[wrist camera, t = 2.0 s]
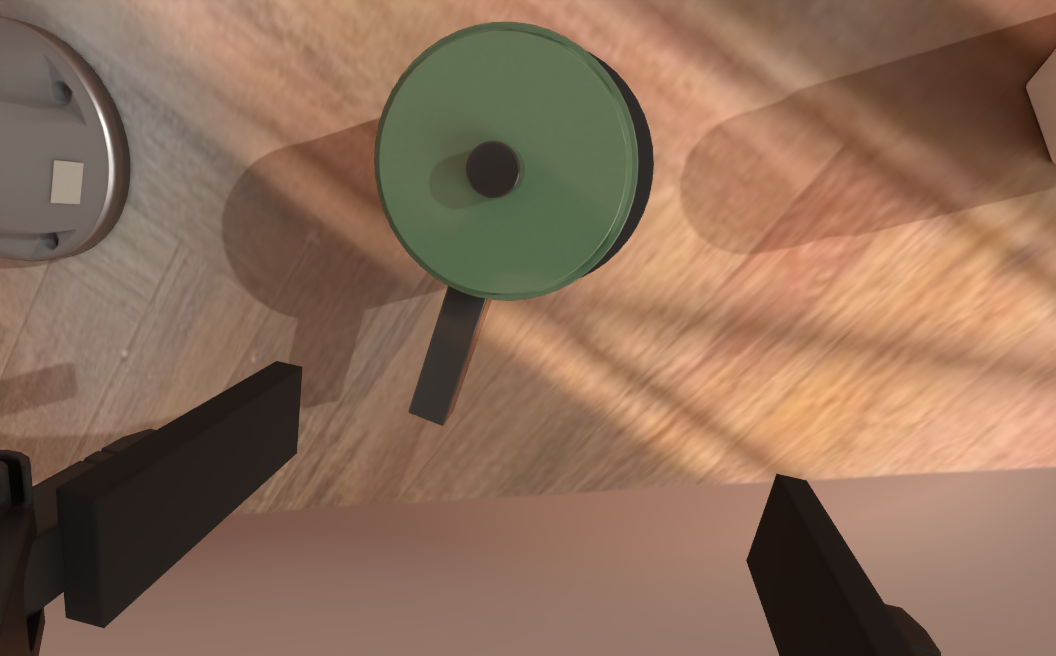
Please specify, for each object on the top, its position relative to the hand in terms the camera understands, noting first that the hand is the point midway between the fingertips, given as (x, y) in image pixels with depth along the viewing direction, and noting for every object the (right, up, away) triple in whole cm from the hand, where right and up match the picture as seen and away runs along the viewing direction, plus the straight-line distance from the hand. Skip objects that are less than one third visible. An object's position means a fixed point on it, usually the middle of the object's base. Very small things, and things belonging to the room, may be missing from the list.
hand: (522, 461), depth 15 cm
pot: (-1, +9, +19) cm, 21 cm away
